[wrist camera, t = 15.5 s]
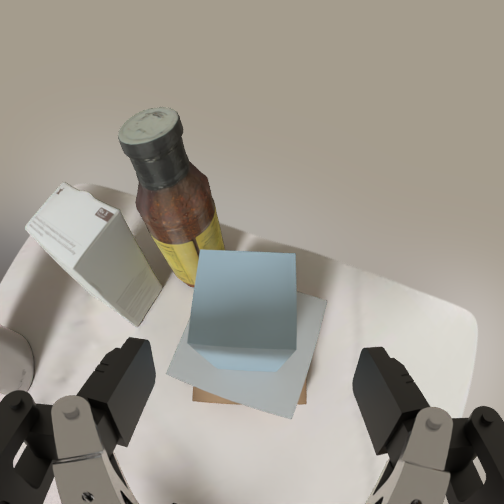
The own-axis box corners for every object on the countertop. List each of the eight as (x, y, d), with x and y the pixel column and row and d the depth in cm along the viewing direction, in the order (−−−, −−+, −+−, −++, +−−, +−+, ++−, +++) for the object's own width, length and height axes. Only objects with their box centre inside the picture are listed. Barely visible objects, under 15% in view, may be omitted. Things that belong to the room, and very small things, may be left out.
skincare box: (92, 296, 30) (19, 229, 17) (117, 257, 32) (61, 177, 20) (141, 330, 28) (67, 272, 15) (168, 286, 31) (118, 203, 18)
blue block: (217, 368, 19) (187, 343, 11) (221, 313, 21) (200, 249, 13) (276, 371, 19) (296, 349, 11) (277, 316, 21) (295, 253, 13)
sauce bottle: (214, 235, 34) (190, 86, 17) (236, 277, 31) (223, 125, 14) (165, 256, 33) (103, 117, 15) (183, 300, 30) (109, 167, 13)
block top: (178, 377, 22) (166, 374, 19) (218, 283, 27) (213, 264, 24) (284, 415, 21) (291, 419, 17) (316, 314, 26) (327, 300, 22)
